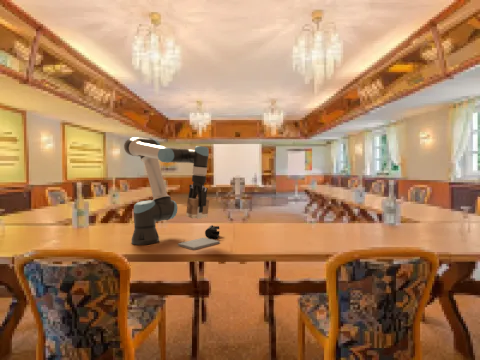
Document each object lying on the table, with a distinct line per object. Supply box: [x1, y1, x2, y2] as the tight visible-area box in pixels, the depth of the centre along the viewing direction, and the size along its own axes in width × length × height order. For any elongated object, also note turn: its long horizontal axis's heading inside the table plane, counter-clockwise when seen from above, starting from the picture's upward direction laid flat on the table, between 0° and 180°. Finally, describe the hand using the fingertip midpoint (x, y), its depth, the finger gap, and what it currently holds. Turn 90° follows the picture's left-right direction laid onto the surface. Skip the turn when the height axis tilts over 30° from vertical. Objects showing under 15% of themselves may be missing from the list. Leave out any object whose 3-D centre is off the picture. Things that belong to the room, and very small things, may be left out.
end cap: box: [204, 224, 220, 240], centre depth 176 cm, size 10×7×7 cm
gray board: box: [177, 237, 221, 251], centre depth 159 cm, size 14×18×1 cm
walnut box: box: [185, 197, 210, 219], centre depth 158 cm, size 6×10×10 cm, turn 134°
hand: (195, 217), depth 158 cm, fingers closed on walnut box, 6 cm apart
